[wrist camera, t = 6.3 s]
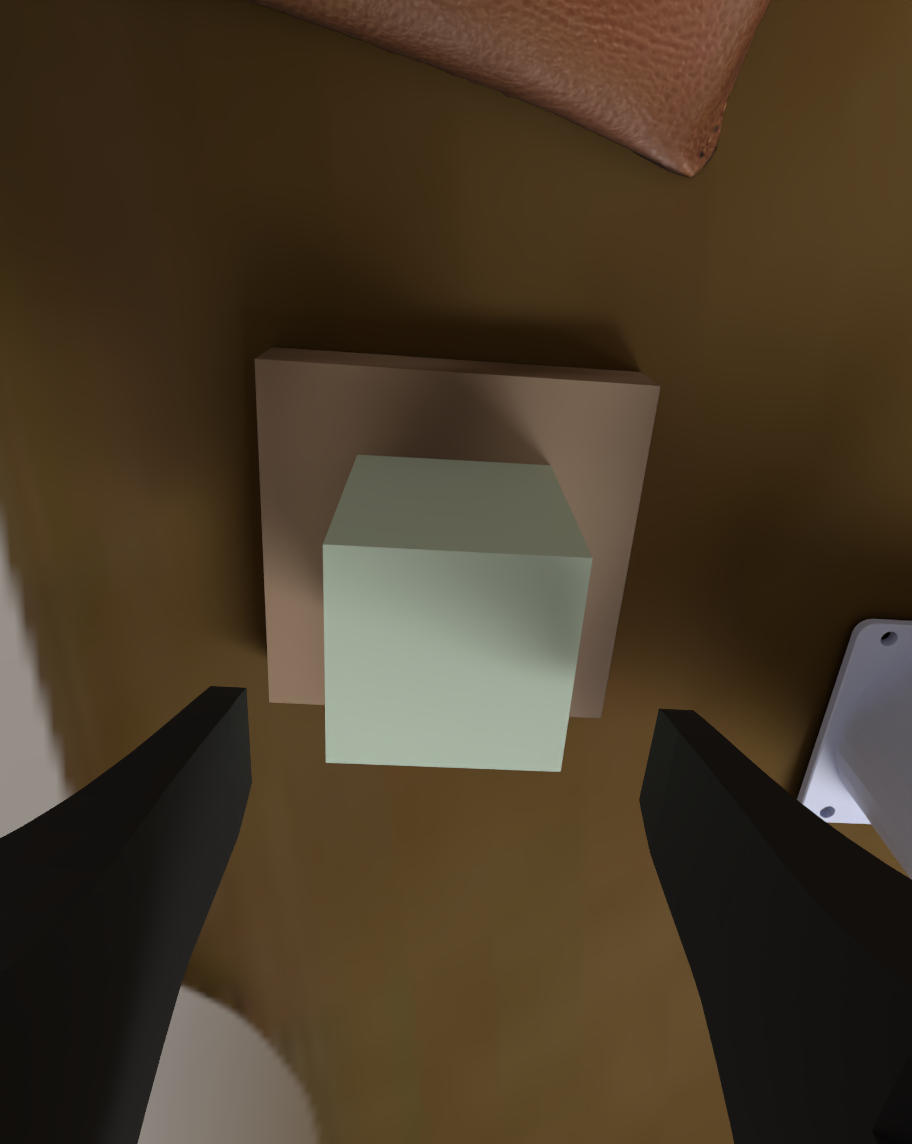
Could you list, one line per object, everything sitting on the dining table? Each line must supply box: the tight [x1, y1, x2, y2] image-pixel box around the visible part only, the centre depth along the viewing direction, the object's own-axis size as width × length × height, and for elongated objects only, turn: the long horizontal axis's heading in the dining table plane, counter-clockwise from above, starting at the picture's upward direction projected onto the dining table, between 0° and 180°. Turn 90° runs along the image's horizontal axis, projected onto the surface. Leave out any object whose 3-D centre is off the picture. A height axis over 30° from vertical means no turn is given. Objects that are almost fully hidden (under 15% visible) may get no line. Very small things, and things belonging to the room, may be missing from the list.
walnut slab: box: [255, 347, 661, 718], centre depth 21 cm, size 10×10×2 cm
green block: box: [323, 455, 593, 772], centre depth 18 cm, size 5×5×6 cm
